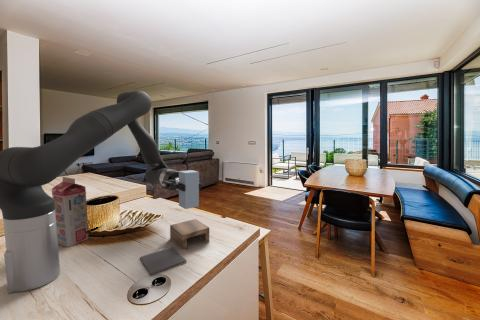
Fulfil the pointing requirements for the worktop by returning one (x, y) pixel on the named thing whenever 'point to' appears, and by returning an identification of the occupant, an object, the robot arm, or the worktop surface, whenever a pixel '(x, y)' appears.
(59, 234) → the juice carton
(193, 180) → the block
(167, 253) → the coaster
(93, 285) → the worktop surface
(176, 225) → the riser
